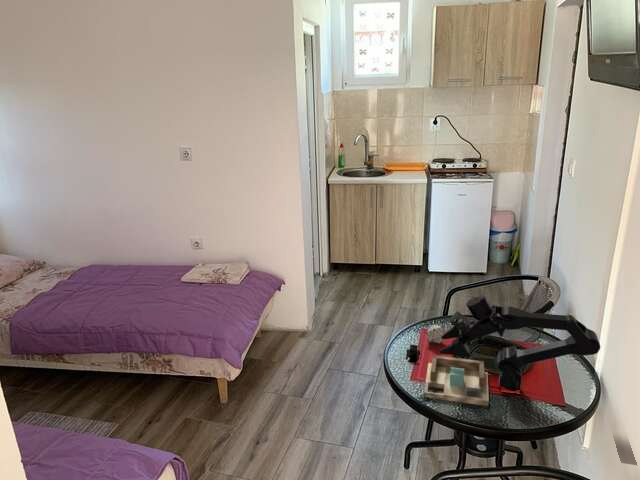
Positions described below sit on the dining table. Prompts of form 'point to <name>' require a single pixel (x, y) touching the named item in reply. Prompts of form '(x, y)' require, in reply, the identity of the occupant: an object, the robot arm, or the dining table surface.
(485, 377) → the board
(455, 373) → the block
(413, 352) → the black box
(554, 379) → the dining table surface
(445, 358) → the cubby
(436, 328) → the game die
